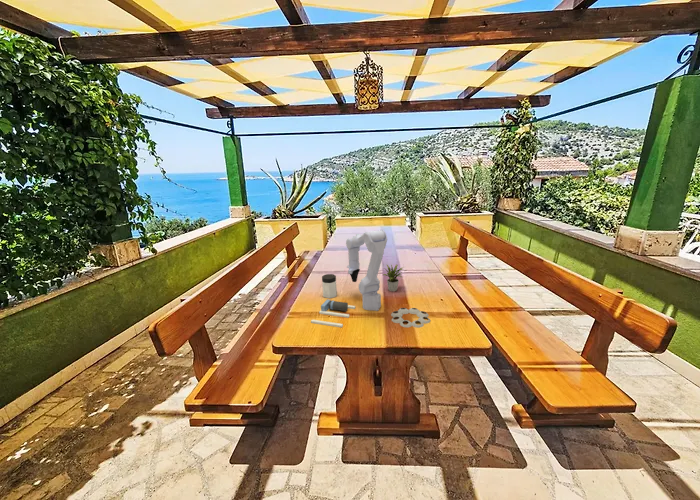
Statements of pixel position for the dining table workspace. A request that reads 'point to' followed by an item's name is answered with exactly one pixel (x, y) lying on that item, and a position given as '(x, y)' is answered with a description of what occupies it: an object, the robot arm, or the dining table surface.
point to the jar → (329, 285)
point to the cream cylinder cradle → (324, 311)
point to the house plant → (393, 281)
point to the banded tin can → (338, 305)
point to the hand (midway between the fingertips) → (354, 281)
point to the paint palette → (400, 320)
